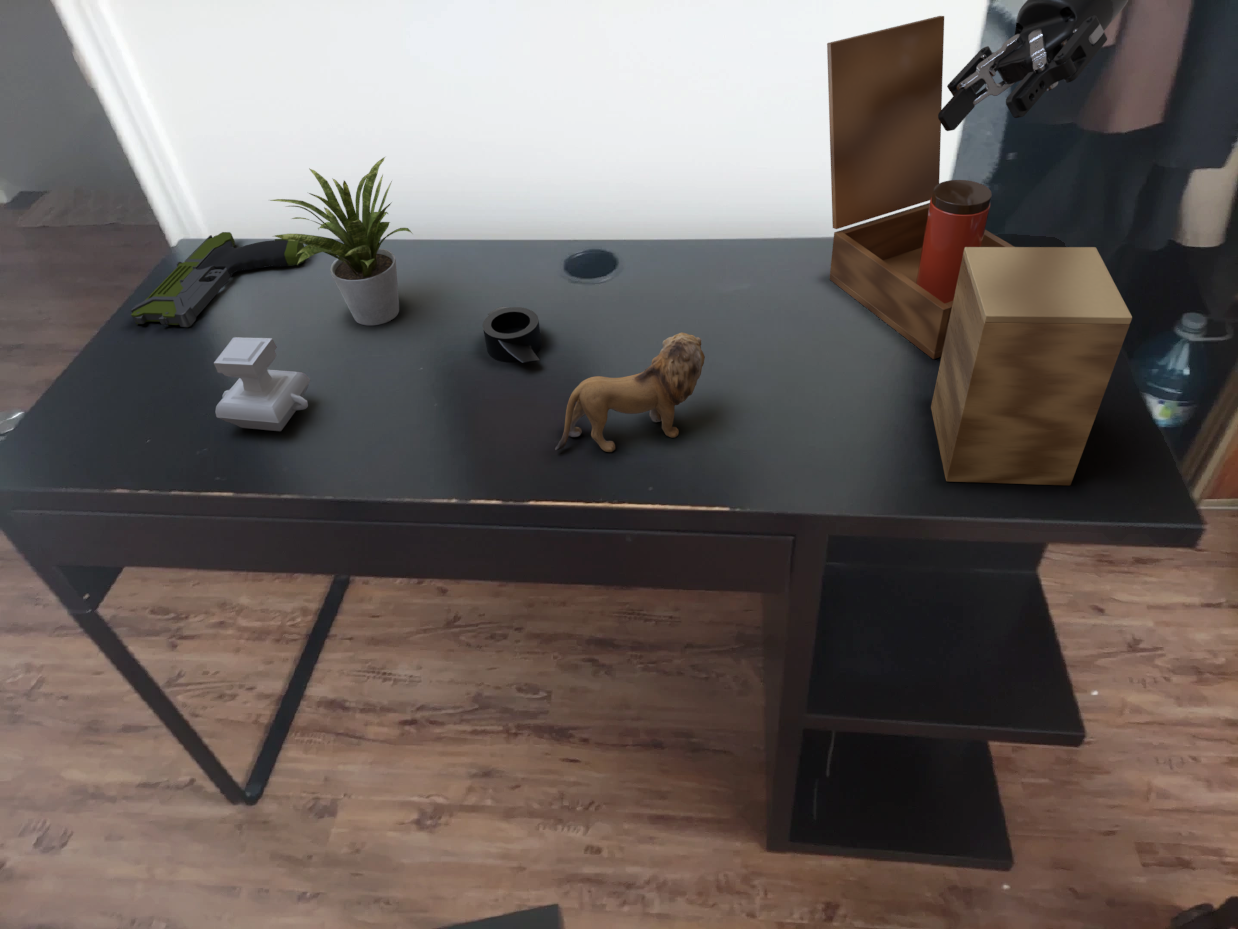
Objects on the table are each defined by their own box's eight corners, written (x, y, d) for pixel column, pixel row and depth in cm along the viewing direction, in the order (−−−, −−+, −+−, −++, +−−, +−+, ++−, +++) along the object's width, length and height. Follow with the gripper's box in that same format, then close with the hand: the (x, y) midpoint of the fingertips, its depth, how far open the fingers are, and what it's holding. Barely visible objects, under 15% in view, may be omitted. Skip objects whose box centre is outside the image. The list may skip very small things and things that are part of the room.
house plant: (352, 268, 111) (313, 137, 100) (457, 278, 108) (429, 143, 97) (291, 335, 101) (240, 197, 90) (405, 348, 98) (366, 206, 87)
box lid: (944, 15, 92) (916, 14, 95) (830, 43, 88) (805, 40, 92) (939, 197, 102) (913, 190, 105) (836, 229, 98) (813, 220, 101)
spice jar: (979, 297, 96) (1004, 190, 88) (949, 319, 94) (971, 211, 86) (933, 278, 99) (953, 173, 91) (902, 299, 97) (920, 193, 89)
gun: (248, 334, 102) (130, 330, 105) (318, 246, 115) (211, 245, 118) (240, 315, 100) (120, 312, 103) (312, 228, 114) (204, 227, 117)
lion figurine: (691, 394, 89) (690, 316, 82) (715, 426, 85) (716, 346, 79) (547, 438, 85) (535, 359, 79) (566, 473, 81) (554, 393, 75)
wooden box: (1040, 320, 94) (1054, 270, 90) (933, 359, 90) (943, 309, 86) (927, 246, 106) (936, 200, 102) (829, 279, 102) (834, 232, 98)
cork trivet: (1094, 253, 73) (1096, 246, 72) (1130, 324, 65) (1132, 317, 65) (963, 253, 74) (964, 246, 74) (984, 322, 67) (986, 315, 66)
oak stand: (1044, 410, 84) (1094, 253, 73) (1070, 485, 76) (1130, 324, 65) (930, 407, 85) (963, 253, 74) (945, 481, 78) (984, 322, 67)
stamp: (328, 400, 92) (303, 330, 86) (299, 443, 87) (270, 372, 81) (247, 394, 93) (217, 324, 88) (214, 436, 89) (180, 365, 83)
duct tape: (466, 372, 94) (461, 348, 92) (491, 317, 101) (487, 295, 99) (539, 375, 92) (535, 352, 90) (560, 320, 100) (557, 297, 98)
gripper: (1161, 16, 84) (1056, 139, 82) (1035, 49, 97) (942, 156, 94) (1128, -57, 81) (1018, 69, 78) (1002, -12, 93) (905, 97, 91)
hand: (976, 117), depth 86 cm, fingers open, 8 cm apart
